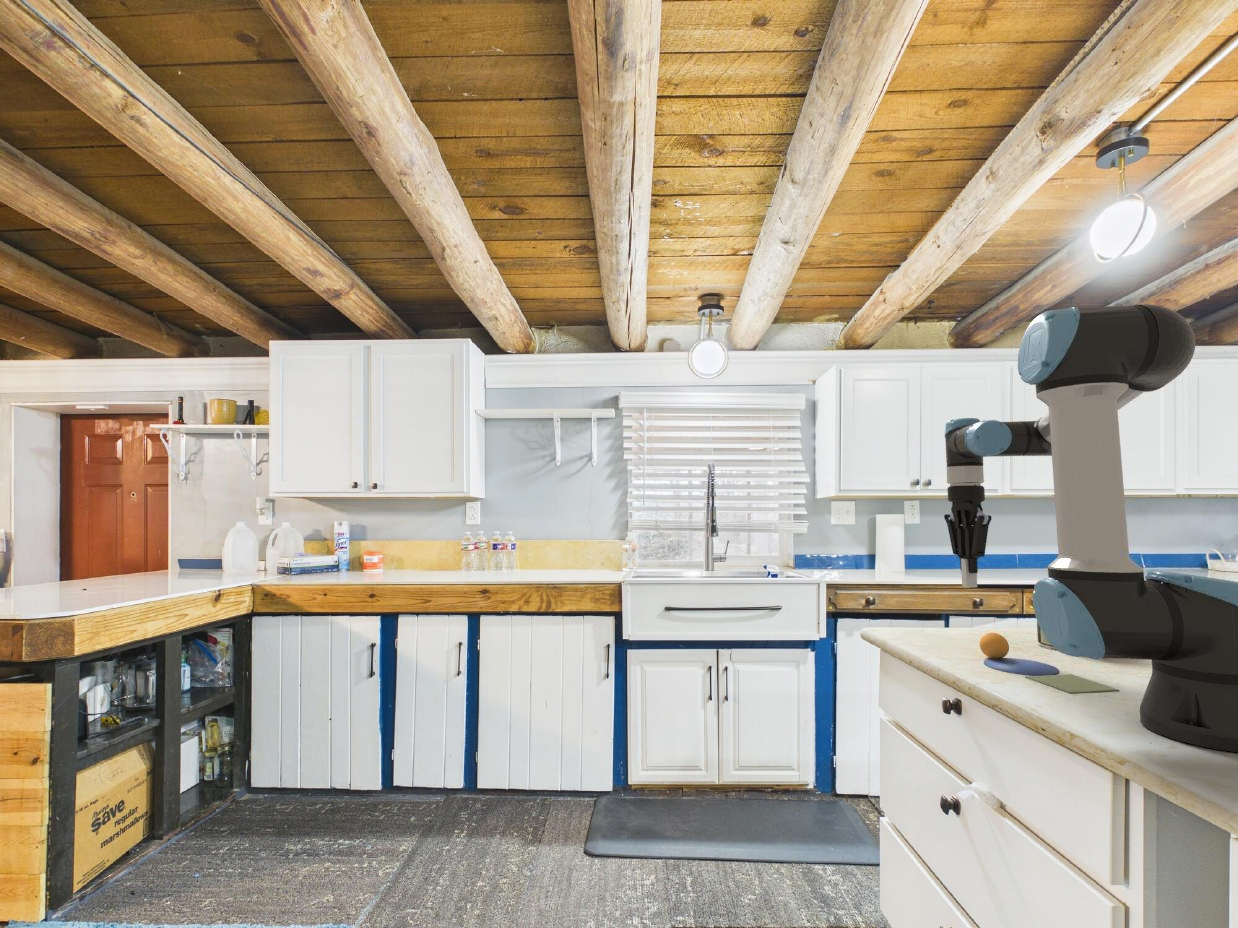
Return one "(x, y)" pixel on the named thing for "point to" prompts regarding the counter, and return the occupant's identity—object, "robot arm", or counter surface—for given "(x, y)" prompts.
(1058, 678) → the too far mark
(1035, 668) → the disc
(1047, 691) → the counter surface
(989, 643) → the ball
